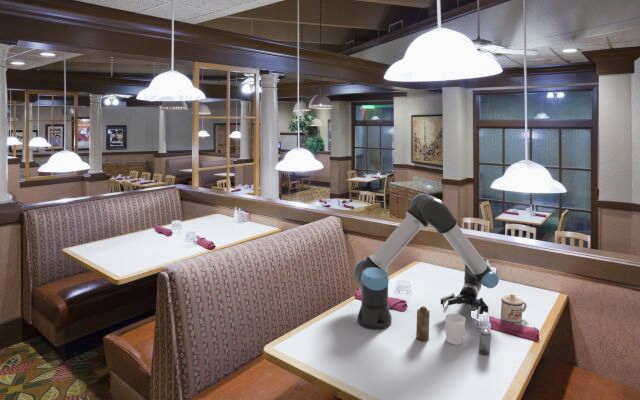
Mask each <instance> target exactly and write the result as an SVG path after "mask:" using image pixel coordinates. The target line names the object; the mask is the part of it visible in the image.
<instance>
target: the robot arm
mask: <svg viewBox="0 0 640 400" xmlns="http://www.w3.org/2000/svg"><path fill="white" fill-rule="evenodd" d="M409 204H410V205H409V206H410V207H409V208H408V209H407V211H406V212H405V215H406V216H405V217H404V219H403V220H402V221H401V222H400V223H399V225H398V226H397V227H396V228H395V229H394V230H393V231H392V233H391V234H390V235H389V236H388V238H387V239H386V240H385V241H384V242H383V243H382V244H381V245H380V247H379V248H378V249H377V250H376V251H375V252H374V254H373V255H371V254H370V255H368V256H367V257H366V258H364V259H362V260H360V261H359V262H357V263H356V264H355V267H354V270H353V276H354V280H355V282H356V283H357V285H358V287H359V288H360V290H361V305H360V308H359V311H358V314H357V324H359V325H360V326H361V327H363V328H365V329H370V330H381V329H382V330H383V329H387V328H388V327H390V326H391V325H392V319H393V317H392V314H391V311H390V308H389V305H388V304H389V303H388V302H389V282H390V281H389V274H388V267H389V266H390V265H391V263H393V261H394V260H395V259H396V257H397V256H399V254H400V253H401V252H402V251H403V250H404V248H405V247H407V245H408V244H409V243H410V241H412V239H413V238H414V237H415V235H417V233H418V232H419V231H420V230H421V229H426V228H427V227H428V226H429V225H430V226H431V227H433V229H435V230H436V231H437V233H438V234H439V235H442V236H443V237H444V238H445V239H446V241H447V242H448V243H449V244H450V246H451V248H453V249H454V251H455V252H456V253H457V255H458V257H460V259H461V260H462V261H463V263H464V276H463V277H464V279H463V286H462V288H461V290H460V292H459V294H458V295H455V293H453V292H452V293H451V294H449V295H447V296H444V297H442V298H441V297H440V305H442V308H443V310H442V311H443V313H446V312H447V310H448V308H449V306H451V305H452V306H453V305H456V304H457V305H461V304H463V305H469V306H471V307H474V308H475V309H476V310H477V311H476V315H475V318H476V320H478V319H480V315H481V314H482V315H483V314H484V312H485V313H487V314H488V313H489V306H488V305H487V304H486V302H485V301H484V300H483V299H484V298H483V297H480V298H478V295H479V293H480V291H481V289H482V286H484V287H485V288H488V289H493V288H495V287H496V286H498V284H499V282H500V278H499V276H498V274H496V272H495V271H493V270H492V269H491V268H490V266H489V265H488V264H487V262H486V261H485V259H484V258H483V257H482V256H481V254H480V253H479V252H478V251H477V249H476V247H475V246H474V245H473V244H472V243H471V241H470V240H469V238H468V237H467V235H466V234H465V233H464V232H463V231H462V229H461V228H460V227H459V225H458V220H457V218H456V217H455V216H454V214H453V213H452V212H451V210H450V209H449V207H448V206H447V205H446V203H445V202H444V201H443V200H441V199H439V198H437V197H435V196H433V195H432V194H431V195H430V194H425V193H420V194H417V195H415V196H414V197H413V198H412V200H411V201H410V203H409ZM477 298H478V299H477ZM479 314H480V315H479Z"/></svg>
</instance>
